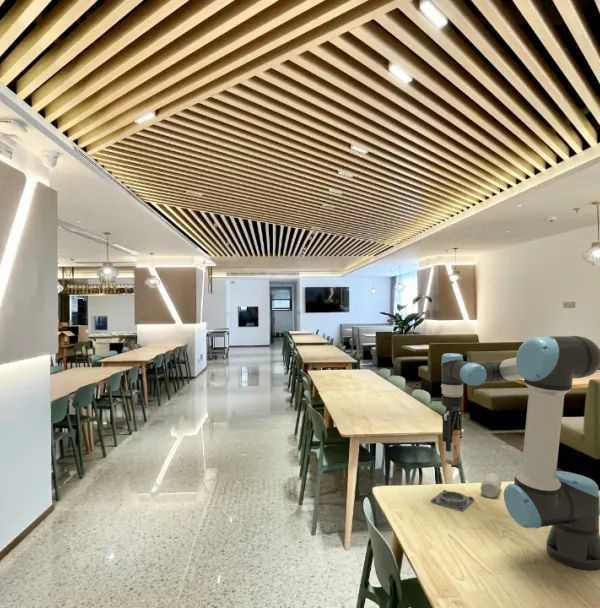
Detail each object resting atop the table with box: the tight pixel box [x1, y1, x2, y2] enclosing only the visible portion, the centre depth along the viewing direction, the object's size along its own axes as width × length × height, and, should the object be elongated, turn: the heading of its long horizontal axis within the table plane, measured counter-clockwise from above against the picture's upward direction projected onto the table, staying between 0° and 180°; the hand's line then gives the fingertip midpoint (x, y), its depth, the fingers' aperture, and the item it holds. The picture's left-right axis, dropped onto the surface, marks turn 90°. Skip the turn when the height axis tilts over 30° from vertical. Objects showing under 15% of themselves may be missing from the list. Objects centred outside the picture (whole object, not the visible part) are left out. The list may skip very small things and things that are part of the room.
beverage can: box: [480, 472, 502, 499], centre depth 180 cm, size 6×6×12 cm
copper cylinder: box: [444, 428, 461, 466], centre depth 172 cm, size 6×6×12 cm
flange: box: [430, 489, 476, 512], centre depth 172 cm, size 12×12×2 cm
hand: (452, 457), depth 172 cm, fingers closed on copper cylinder, 5 cm apart
